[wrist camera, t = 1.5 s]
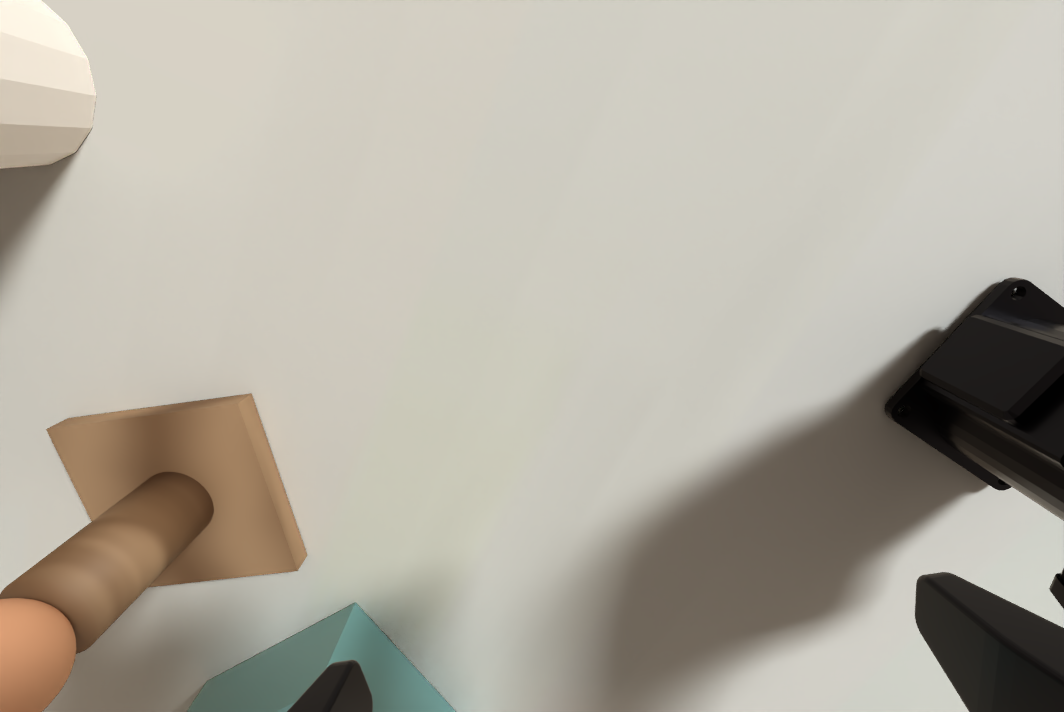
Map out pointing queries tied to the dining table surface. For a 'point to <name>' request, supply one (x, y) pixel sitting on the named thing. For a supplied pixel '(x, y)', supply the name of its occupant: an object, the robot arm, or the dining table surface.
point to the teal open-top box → (294, 664)
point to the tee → (163, 508)
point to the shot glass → (41, 86)
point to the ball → (33, 654)
